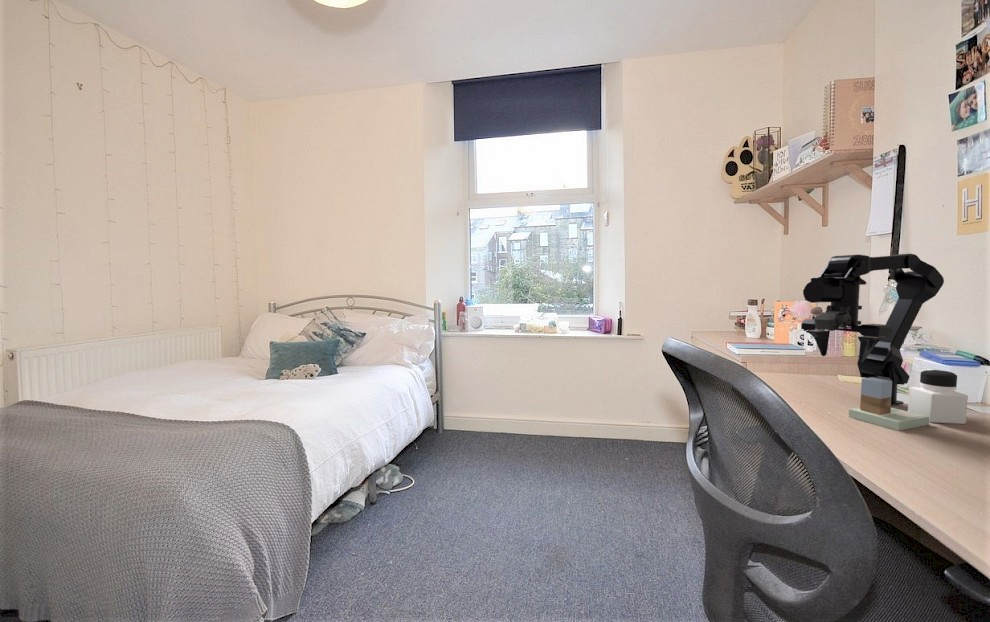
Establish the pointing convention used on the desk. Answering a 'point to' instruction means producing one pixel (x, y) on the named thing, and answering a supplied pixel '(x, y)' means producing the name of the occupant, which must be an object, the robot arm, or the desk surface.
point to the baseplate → (891, 418)
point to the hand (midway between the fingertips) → (841, 358)
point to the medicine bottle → (938, 398)
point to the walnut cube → (875, 405)
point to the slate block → (876, 387)
